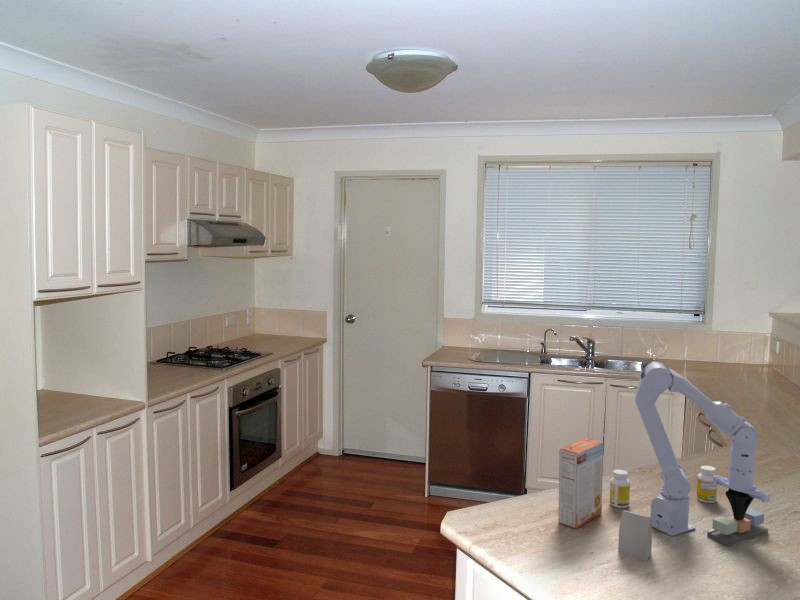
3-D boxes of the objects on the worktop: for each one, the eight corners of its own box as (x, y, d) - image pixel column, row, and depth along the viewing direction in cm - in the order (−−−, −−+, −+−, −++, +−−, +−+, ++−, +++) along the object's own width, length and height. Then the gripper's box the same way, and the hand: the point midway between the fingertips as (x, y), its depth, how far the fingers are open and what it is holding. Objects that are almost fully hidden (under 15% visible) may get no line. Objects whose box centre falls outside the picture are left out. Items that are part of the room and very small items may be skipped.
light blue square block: (754, 526, 167) (754, 516, 167) (739, 520, 171) (740, 510, 170) (763, 523, 169) (764, 513, 169) (749, 517, 172) (749, 508, 172)
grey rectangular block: (646, 560, 153) (647, 520, 153) (618, 552, 158) (619, 512, 157) (651, 555, 156) (652, 515, 155) (623, 546, 161) (625, 507, 160)
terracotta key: (740, 533, 165) (740, 523, 164) (726, 527, 168) (726, 517, 168) (750, 530, 166) (750, 520, 166) (735, 523, 170) (736, 514, 170)
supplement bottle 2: (699, 494, 194) (700, 463, 193) (718, 499, 191) (720, 467, 190) (694, 500, 190) (695, 468, 189) (713, 505, 186) (715, 472, 185)
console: (728, 546, 161) (728, 540, 161) (707, 536, 166) (707, 530, 166) (767, 533, 168) (768, 527, 168) (746, 524, 174) (746, 518, 174)
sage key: (726, 534, 162) (727, 525, 162) (712, 528, 165) (712, 518, 165) (736, 531, 164) (737, 521, 164) (722, 525, 167) (723, 515, 167)
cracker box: (582, 508, 183) (585, 436, 182) (602, 514, 179) (605, 441, 177) (556, 522, 174) (558, 447, 172) (576, 530, 169) (578, 452, 167)
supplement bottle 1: (632, 504, 186) (633, 471, 185) (624, 510, 182) (625, 476, 181) (614, 499, 190) (615, 467, 189) (606, 504, 186) (607, 471, 185)
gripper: (778, 474, 161) (775, 527, 162) (726, 457, 174) (723, 506, 175) (761, 479, 158) (758, 532, 159) (708, 461, 171) (706, 510, 172)
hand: (738, 519), depth 167 cm, fingers closed, pressing on terracotta key
